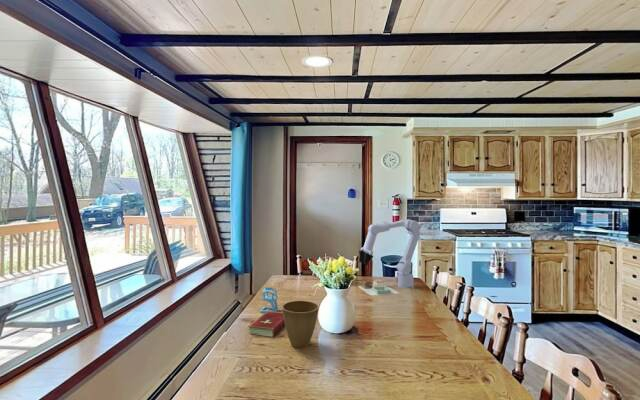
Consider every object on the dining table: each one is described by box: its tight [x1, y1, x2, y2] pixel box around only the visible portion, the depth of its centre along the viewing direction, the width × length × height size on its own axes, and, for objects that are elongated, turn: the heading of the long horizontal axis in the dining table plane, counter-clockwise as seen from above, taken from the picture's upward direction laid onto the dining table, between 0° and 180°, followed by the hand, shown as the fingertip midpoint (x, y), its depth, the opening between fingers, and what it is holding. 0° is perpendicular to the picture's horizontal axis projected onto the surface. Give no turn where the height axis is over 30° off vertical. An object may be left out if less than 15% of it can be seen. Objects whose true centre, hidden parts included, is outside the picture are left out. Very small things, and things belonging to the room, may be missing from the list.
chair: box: [259, 287, 279, 314], centre depth 198 cm, size 8×8×12 cm
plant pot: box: [282, 300, 320, 349], centre depth 157 cm, size 15×15×16 cm
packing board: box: [357, 283, 399, 296], centre depth 238 cm, size 19×22×3 cm
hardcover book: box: [248, 311, 286, 338], centre depth 176 cm, size 12×21×4 cm, turn 164°
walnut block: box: [361, 279, 374, 289], centre depth 242 cm, size 5×5×4 cm
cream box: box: [372, 278, 385, 287], centre depth 245 cm, size 5×5×4 cm
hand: (362, 263), depth 240 cm, fingers open, 7 cm apart
